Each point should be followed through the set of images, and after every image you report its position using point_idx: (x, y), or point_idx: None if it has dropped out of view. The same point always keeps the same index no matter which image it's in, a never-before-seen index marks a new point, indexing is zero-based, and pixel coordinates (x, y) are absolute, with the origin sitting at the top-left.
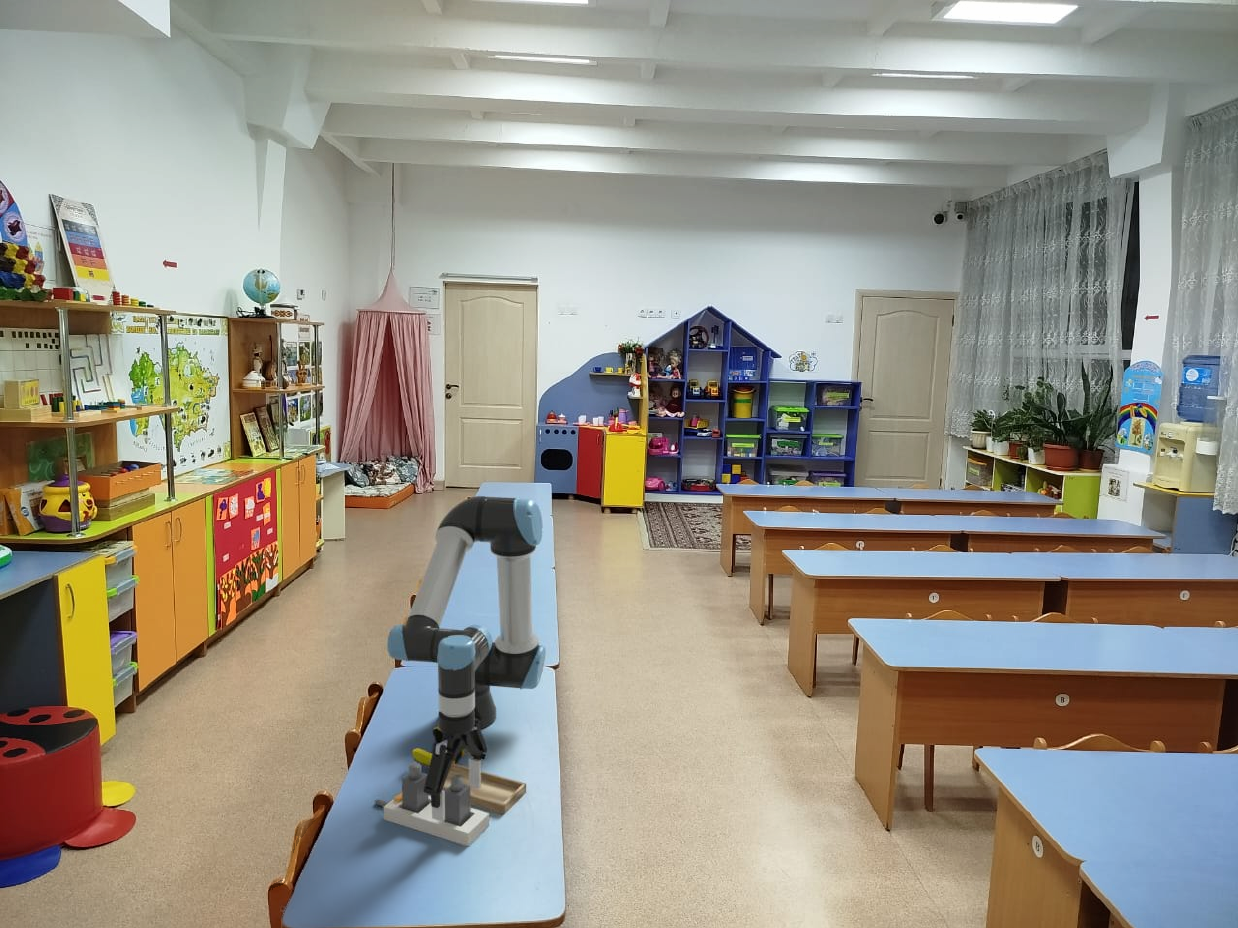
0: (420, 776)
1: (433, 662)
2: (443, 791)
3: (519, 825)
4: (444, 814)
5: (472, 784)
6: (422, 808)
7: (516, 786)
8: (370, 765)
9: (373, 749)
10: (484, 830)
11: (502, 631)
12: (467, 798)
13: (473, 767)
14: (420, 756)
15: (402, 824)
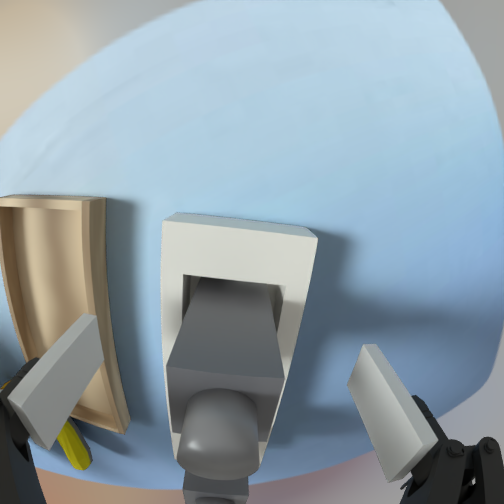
0: (212, 499)
1: None
2: (427, 444)
3: (141, 118)
4: (376, 358)
5: (96, 351)
6: None
7: (8, 224)
8: (132, 481)
9: (102, 480)
10: (206, 215)
11: None
12: (204, 334)
13: (55, 403)
14: (81, 458)
15: None
